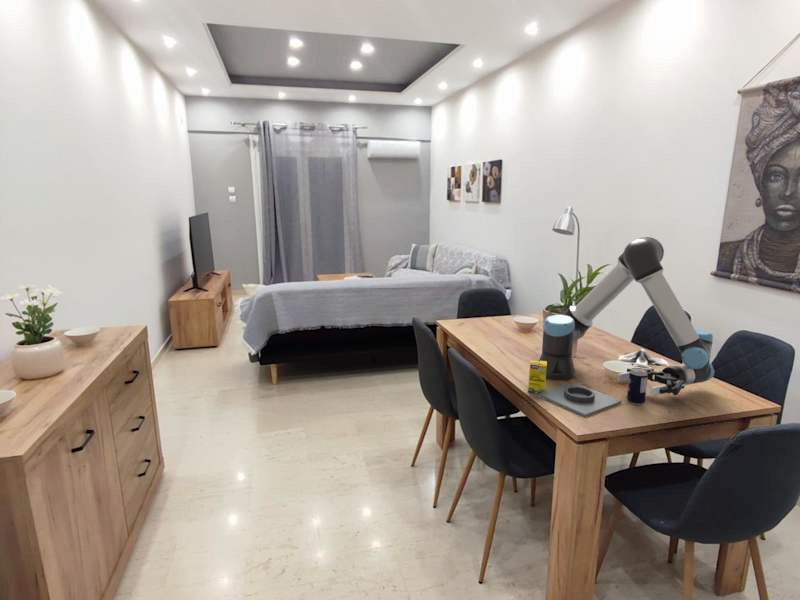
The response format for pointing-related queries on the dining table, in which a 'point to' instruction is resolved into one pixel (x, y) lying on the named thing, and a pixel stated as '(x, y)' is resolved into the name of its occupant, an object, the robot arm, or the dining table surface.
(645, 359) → the cloth
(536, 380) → the supplement box
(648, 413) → the dining table surface
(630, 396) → the beverage can
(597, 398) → the ring socket
